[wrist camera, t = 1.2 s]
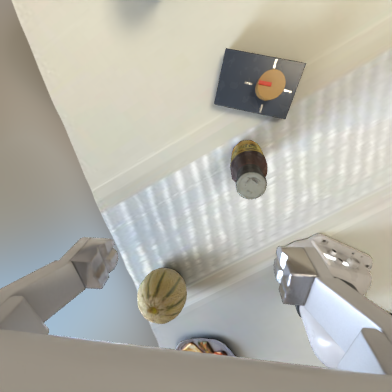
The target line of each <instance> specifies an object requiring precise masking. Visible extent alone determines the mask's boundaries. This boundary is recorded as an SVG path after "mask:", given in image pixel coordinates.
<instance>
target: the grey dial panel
mask: <svg viewBox="0 0 392 392" xmlns="http://www.w3.org/2000/svg"><path fill="white" fill-rule="evenodd" d="M305 65H306V63H302V62H297V61H291V60H286V59H281V58H275V57H270V56H265V55H259V54H254V53H249V52H244V51H238V50H233V49H228V48H226V50H225V55H224V59H223V64H222V69H221V74H220V78H219V83H218V88H217V93H216V98H215V102H214V104H215V105H220V106H225V107H229V108H234V109H239V110H244V111H248V112H253V113H258V114H262V115H267V116H272V117H277V118H281V119H286V116H287V113H288V111H289V108H290V105H291V103H292V100H293V97H294V94H295V92H296V89H297V86H298V84H299V81H300V78H301V76H302V73H303V70H304V68H305ZM271 69H277V70H280V71H281V72H282V73H283V74H284V76H285V80H286V84H285V88H284V90H283V92H282V93H281V94H280V95H279V96H278V97H277V98H275V99H272V100H268V101H264V100H261V99H259V98H258V96H257V95H256V92H255V86H256V83H257V81H258V79H259V78H260V77H261V76H262V75H263V74H264V73H265V72H266V71H268V70H271Z"/></svg>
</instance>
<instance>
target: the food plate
mask: <svg viewBox="0 0 392 392" xmlns="http://www.w3.org/2000/svg"><path fill="white" fill-rule="evenodd" d="M176 350H183V351H191V352H200V353H208V354H216V355H225V356H233V357H236V356H235V355H234V354H233V353H232V351H230V349H229V348H227V346H226V345H225V344H224V343H222V342H220V341H218V340H215V339H205V338H196V339H195V338H194V339H188V340H184V341H181V342H180V343H179V344H178V345H177V347H176Z"/></svg>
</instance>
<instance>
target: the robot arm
mask: <svg viewBox="0 0 392 392" xmlns="http://www.w3.org/2000/svg"><path fill="white" fill-rule="evenodd" d="M323 240H324V241H323ZM113 247H114V242H113V240H112V239H107V238H90V237H83V238H80V239H79V240H78V241H77V243H76V244H74V246H73V247H72V248H71V249H70V250H69V251H68V252H67V253H66V254H65V255H64V256H63V257H62V258H61V259H60V260H59V261H54V262H52V263H50V264H48V265H46V266H44V267H42V268H40V269H38V270H36V271H34V272H32V273H30V274H28V275H26V276H24V277H22V278H20V279H19V280H17V281H15V282H13V283H11V284H9V285H7V286H5V287H3V288H1V289H0V392H392V314H389V313H388V312H386V311H385V310H383V309H382V308H380V307H379V306H378V305H376V304H375V303H373V302H372V301H370V300H369V299H367V298H366V297H365V296H364V294H365V293H366V292H367V291H368V289H369V288H370V286H371V283H372V276H371V274H370V270H371V267H372V258H371V256H370V255H368V254H366V253H363V252H361V251H359V250H357V249H355V248H352V247H350V246H348V245H346V244H343V243H341V242H339V241H337V240H334V239H332V238H330V237H328V236H326V235H323V234H315V235H313V236H311V237H310V238H308V239H304V240H299V241H296V242H293V243H291V244H289V245H287V246H278V247H277V251H276V254H277V258H276V259H275V260H274V274H275V278H276V281H277V282H278V283H279V284H280V286H279V292H280V295H281V299H282V302H283V304H290V305H295V307H296V309H297V312H298V314H299V316H300V317H301V318H302V321H303V324H304V327H305V330H306V333H307V336H308V339H309V342H310V345H311V348H312V350H313V352H314V353H315V355H316V356H317V358H318V359H319V360H320V361H321V362H322V363H323V364H324V365H325V366H327V367H328V368H325V367H317V366H308V365H300V364H292V363H283V362H275V361H267V360H258V359H250V358H241V357H233V356H225V355H216V354H208V353H200V352H191V351H183V350H175V349H166V348H157V347H148V346H141V345H132V344H124V343H114V342H107V341H99V340H90V339H81V338H73V337H65V336H57V335H48V333H49V329H48V328H47V326H46V325H45V324H44V322H45V321H46V320H48V319H49V318H50V317H51V316H52V315H54V314H55V313H56V312H58V311H59V310H60V309H61V308H63V307H64V306H65V305H66V304H68V303H69V302H70V301H71V300H73V299H74V298H75V297H76V296H77V295H79V294H80V293H81V292H83V291H84V290H85V288H94V289H102V288H103V286H104V285H105V283H106V281H107V280H108V278H109V273H110V272H111V271H112V270H114V268H115V267H116V265H117V261H118V253H117V251H116V250H115V249H114V248H113Z"/></svg>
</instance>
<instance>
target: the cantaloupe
mask: <svg viewBox="0 0 392 392" xmlns="http://www.w3.org/2000/svg"><path fill="white" fill-rule="evenodd" d="M186 296H187V291H186V284H185V281H184V279H183V278H182V276H181V275H180V274H179V273H178V272H176V271H175V270H173V269H168V268H159V269H156V270H154V271H152V272H150V273H149V274H148V275H147V276H146V277H145V279H144V280H143V282H142V283H141V285H140V287H139V289H138V296H137V298H138V307H139V310H140V312H141V313H142V315H143V316H144V318H145V319H147V320H148V321H150V322H153V323H158V324H164V323H167V322H169V321H171V320H173V319H174V318H175V317H177V316H178V314H179V313H180V312H181V310H182V308H183V307H184V304H185V301H186Z"/></svg>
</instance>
